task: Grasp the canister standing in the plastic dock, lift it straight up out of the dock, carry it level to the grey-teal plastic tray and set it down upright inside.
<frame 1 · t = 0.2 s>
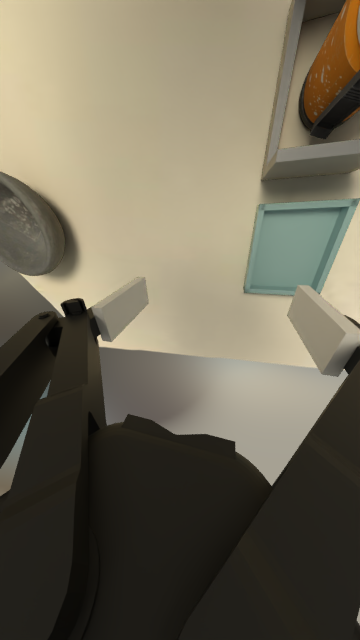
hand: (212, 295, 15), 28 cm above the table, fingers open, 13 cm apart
tray: (287, 251, 35), on the table
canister: (328, 100, 25), on the table
bowl: (44, 228, 47), on the table
dock: (328, 99, 25), on the table
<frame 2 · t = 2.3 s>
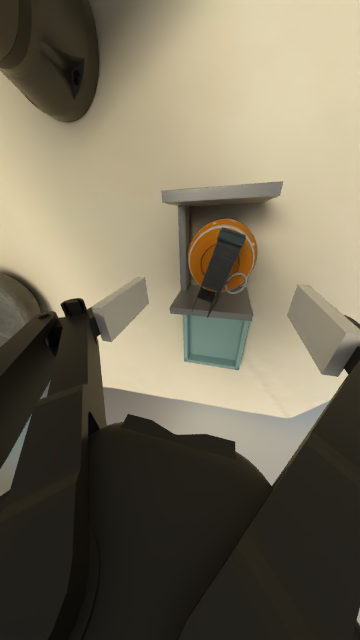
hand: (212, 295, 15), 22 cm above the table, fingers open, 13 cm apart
tray: (213, 334, 44), on the table
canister: (221, 249, 33), on the table
bowl: (23, 296, 56), on the table
dock: (221, 250, 33), on the table
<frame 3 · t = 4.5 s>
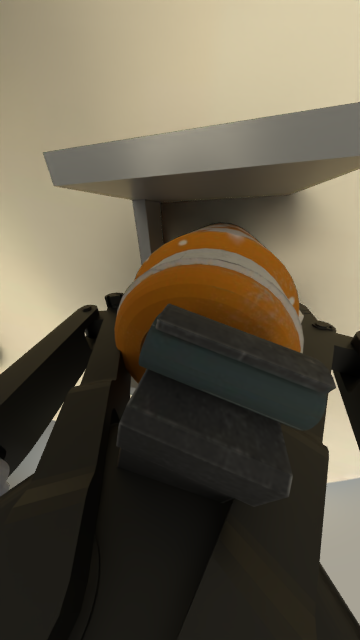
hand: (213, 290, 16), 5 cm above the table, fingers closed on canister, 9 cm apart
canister: (214, 274, 20), on the table, touching gripper
dock: (215, 274, 20), on the table
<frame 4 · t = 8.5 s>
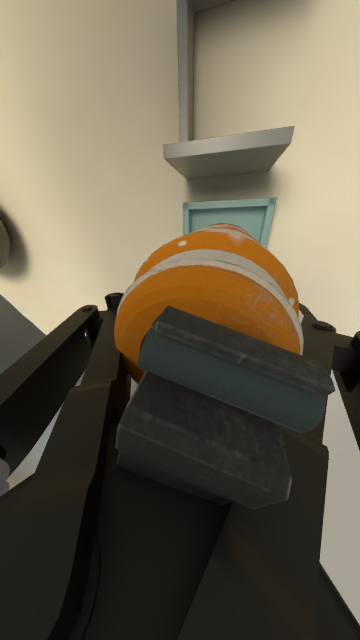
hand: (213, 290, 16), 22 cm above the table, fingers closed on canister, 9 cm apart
tray: (222, 251, 35), on the table
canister: (214, 274, 20), point 17 cm above the table, touching gripper
dock: (237, 94, 24), on the table
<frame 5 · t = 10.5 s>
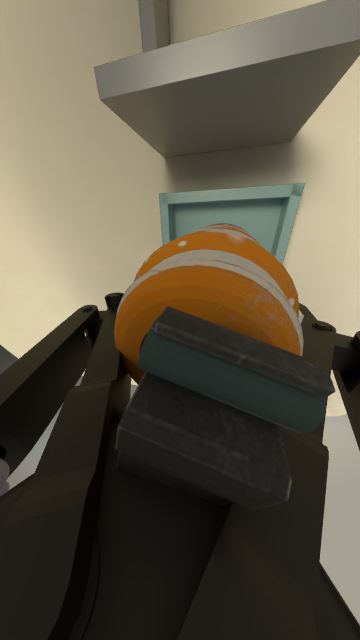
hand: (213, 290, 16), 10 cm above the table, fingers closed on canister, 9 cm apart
tray: (219, 264, 25), on the table
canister: (214, 274, 20), point 5 cm above the table, touching gripper
dock: (242, 3, 14), on the table
when the fingers open (7 cm above the table, at t = 12.2 s): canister drops 1 cm, resting on tray.
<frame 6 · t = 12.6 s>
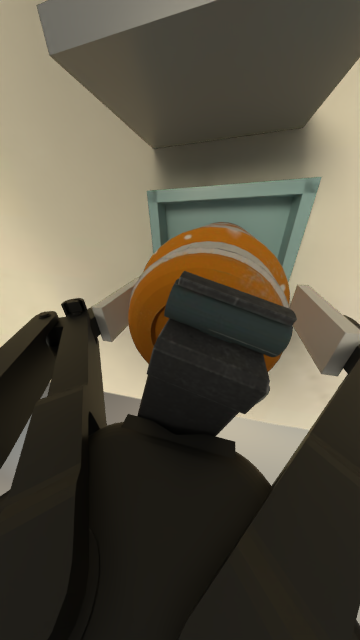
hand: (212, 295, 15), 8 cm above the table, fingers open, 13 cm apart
tray: (217, 271, 22), on the table
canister: (215, 271, 22), resting on tray
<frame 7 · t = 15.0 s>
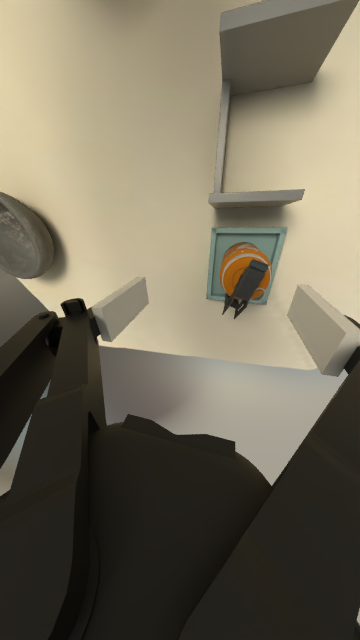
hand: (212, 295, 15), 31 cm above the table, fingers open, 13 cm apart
tray: (240, 265, 42), on the table
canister: (238, 265, 42), resting on tray
bowl: (36, 236, 53), on the table
dock: (259, 151, 31), on the table
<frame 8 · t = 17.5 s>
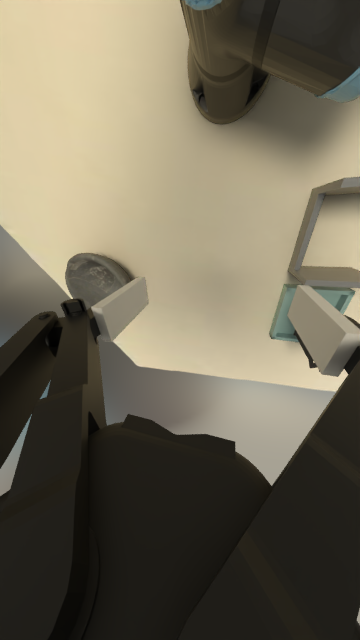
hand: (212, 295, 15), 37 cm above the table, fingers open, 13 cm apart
tray: (303, 313, 49), on the table
bowl: (113, 282, 61), on the table
dock: (335, 233, 39), on the table
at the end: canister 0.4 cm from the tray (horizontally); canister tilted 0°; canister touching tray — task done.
